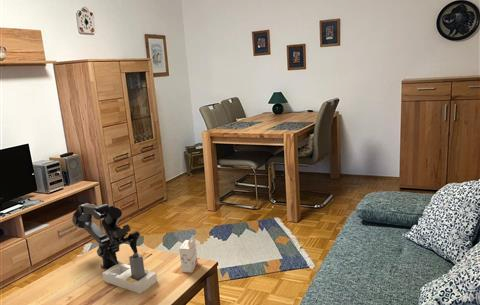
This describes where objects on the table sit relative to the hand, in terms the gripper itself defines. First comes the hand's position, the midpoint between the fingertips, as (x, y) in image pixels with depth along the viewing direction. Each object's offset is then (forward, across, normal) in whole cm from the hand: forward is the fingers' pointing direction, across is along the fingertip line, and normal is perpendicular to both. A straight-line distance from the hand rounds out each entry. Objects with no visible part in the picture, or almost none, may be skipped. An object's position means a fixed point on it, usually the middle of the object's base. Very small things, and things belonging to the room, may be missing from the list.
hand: (127, 259), depth 169 cm
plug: (+12, 0, +1) cm, 12 cm away
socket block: (+8, -1, +5) cm, 9 cm away
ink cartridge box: (+16, +22, -3) cm, 28 cm away
